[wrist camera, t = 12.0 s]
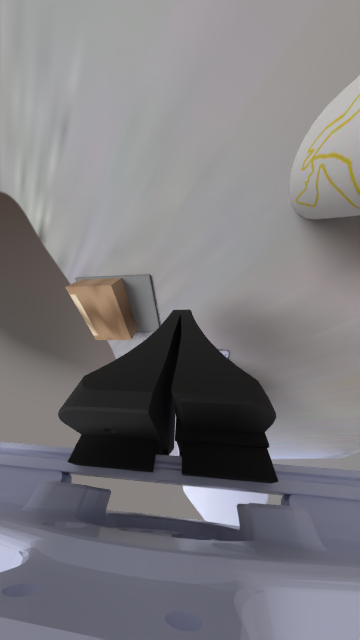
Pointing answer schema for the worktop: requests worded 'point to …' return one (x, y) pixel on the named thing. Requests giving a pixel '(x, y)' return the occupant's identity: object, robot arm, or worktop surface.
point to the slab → (104, 308)
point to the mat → (138, 300)
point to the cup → (330, 161)
